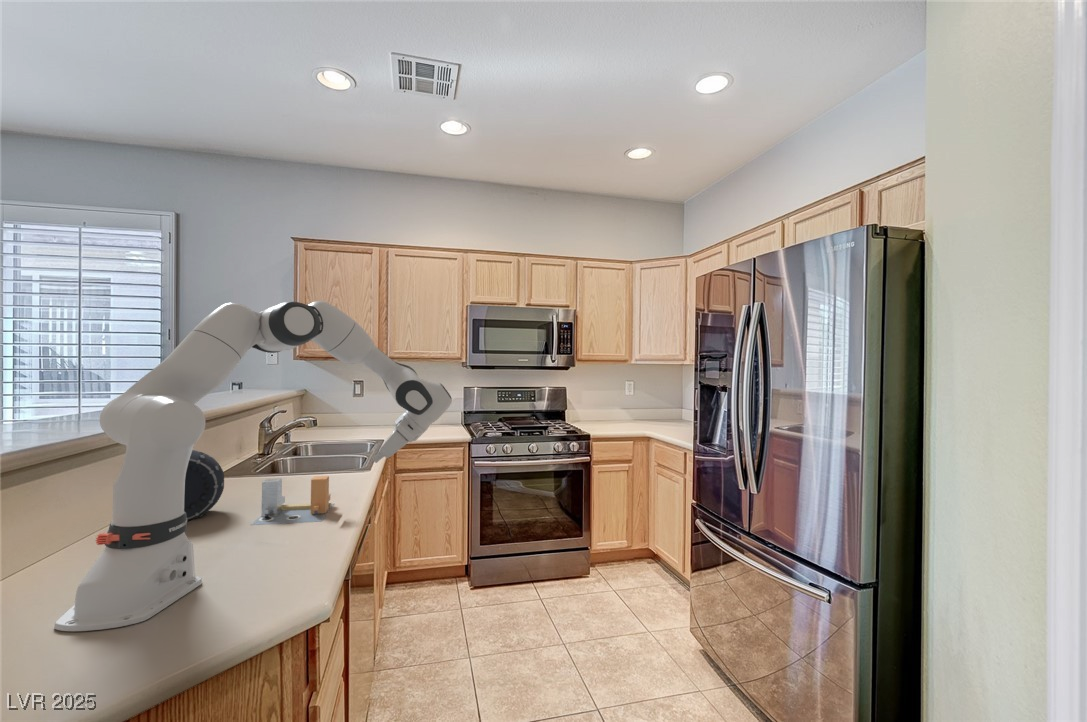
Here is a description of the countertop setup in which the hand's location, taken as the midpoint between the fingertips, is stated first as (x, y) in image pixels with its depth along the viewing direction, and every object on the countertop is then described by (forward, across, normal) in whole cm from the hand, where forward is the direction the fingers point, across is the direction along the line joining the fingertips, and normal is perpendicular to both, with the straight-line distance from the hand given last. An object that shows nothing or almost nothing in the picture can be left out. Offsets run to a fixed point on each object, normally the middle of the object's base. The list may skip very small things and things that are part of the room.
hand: (375, 460), depth 144 cm
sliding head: (+21, -1, 0) cm, 21 cm away
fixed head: (+31, -1, -9) cm, 32 cm away
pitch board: (+27, 0, -4) cm, 27 cm away
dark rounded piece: (+49, -2, -25) cm, 55 cm away
